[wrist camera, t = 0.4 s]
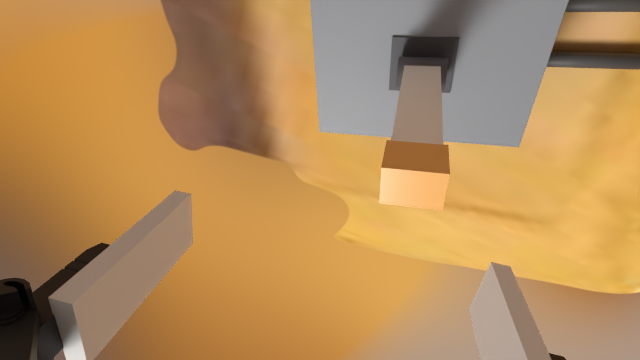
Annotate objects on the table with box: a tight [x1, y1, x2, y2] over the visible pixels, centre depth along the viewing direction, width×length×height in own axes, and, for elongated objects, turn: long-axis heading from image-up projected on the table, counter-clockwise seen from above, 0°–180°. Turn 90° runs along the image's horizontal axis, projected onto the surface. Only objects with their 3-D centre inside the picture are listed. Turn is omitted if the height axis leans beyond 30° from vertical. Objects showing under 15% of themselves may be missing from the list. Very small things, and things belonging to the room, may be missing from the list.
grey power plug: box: [310, 0, 640, 147], centre depth 31 cm, size 29×14×10 cm, turn 94°
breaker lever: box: [379, 57, 450, 211], centre depth 23 cm, size 4×2×15 cm, turn 94°
